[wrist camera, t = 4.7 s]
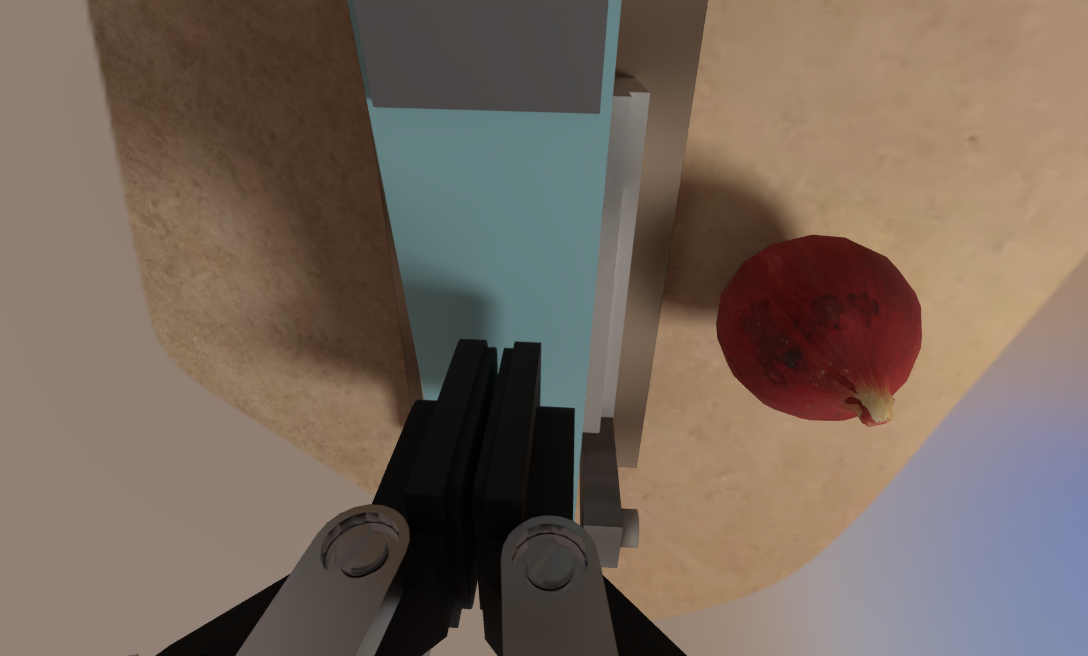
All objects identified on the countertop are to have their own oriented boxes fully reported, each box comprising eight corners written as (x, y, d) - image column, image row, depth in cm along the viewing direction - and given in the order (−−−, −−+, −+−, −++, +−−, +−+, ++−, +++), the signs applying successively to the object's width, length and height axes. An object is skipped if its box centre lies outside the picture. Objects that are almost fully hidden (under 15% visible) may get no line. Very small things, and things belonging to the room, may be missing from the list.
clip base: (341, -236, 14) (-10, -610, 5) (731, -233, 13) (978, -630, 5) (425, 434, 25) (355, 631, 17) (633, 444, 25) (661, 651, 17)
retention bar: (337, -191, 7) (297, -206, 6) (633, -188, 7) (641, -202, 6) (459, 520, 19) (451, 555, 18) (571, 526, 18) (571, 563, 17)
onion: (670, 309, 21) (715, 450, 14) (753, 178, 18) (858, 275, 12) (792, 360, 22) (888, 514, 15) (888, 242, 19) (1060, 367, 12)
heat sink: (422, 71, 16) (372, 89, 12) (635, 77, 16) (654, 97, 12) (447, 349, 21) (418, 423, 17) (607, 356, 21) (614, 433, 17)
